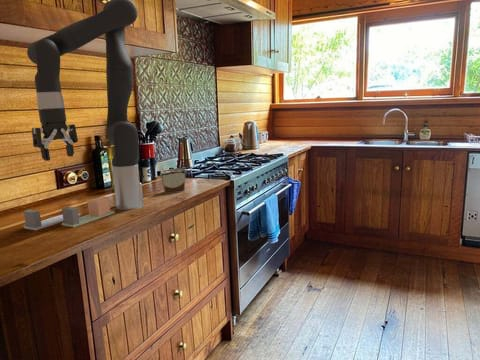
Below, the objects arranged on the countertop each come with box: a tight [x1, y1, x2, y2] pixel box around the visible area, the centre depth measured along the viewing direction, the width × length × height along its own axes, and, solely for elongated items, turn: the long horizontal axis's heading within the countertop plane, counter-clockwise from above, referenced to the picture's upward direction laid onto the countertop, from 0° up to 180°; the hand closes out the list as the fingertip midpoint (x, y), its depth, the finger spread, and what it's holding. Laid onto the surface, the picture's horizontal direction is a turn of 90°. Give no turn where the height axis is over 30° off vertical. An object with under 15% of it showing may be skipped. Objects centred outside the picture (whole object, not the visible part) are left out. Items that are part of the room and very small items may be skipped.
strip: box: [23, 209, 82, 231], centre depth 123 cm, size 17×6×6 cm, turn 152°
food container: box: [159, 168, 187, 195], centre depth 168 cm, size 12×6×10 cm, turn 123°
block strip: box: [60, 206, 116, 228], centre depth 125 cm, size 17×6×6 cm, turn 152°
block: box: [87, 197, 111, 216], centre depth 129 cm, size 5×5×5 cm
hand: (59, 158), depth 119 cm, fingers open, 8 cm apart
